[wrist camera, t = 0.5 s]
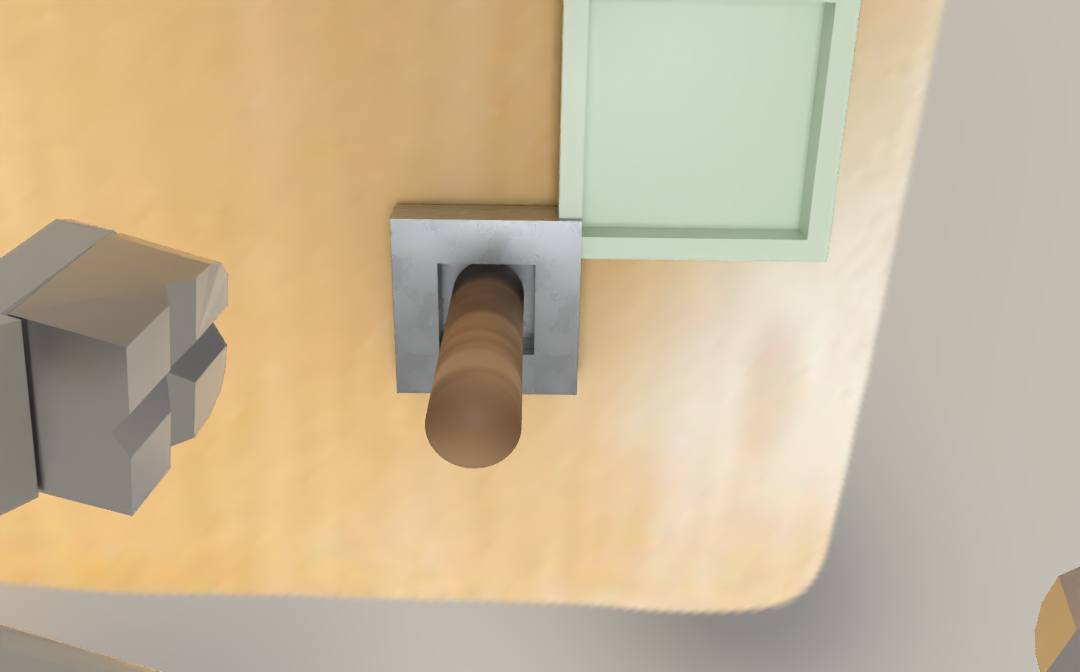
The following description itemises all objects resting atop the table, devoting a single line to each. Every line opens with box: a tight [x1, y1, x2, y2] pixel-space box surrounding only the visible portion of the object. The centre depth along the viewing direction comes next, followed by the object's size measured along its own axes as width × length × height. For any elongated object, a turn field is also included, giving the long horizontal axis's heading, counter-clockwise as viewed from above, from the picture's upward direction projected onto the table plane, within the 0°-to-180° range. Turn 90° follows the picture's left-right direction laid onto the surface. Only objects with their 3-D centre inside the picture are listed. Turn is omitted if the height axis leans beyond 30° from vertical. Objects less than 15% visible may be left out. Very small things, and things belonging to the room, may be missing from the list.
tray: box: [558, 0, 861, 262], centre depth 53 cm, size 14×14×2 cm
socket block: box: [390, 204, 582, 395], centre depth 56 cm, size 10×10×3 cm
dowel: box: [425, 264, 524, 468], centre depth 50 cm, size 4×4×16 cm
